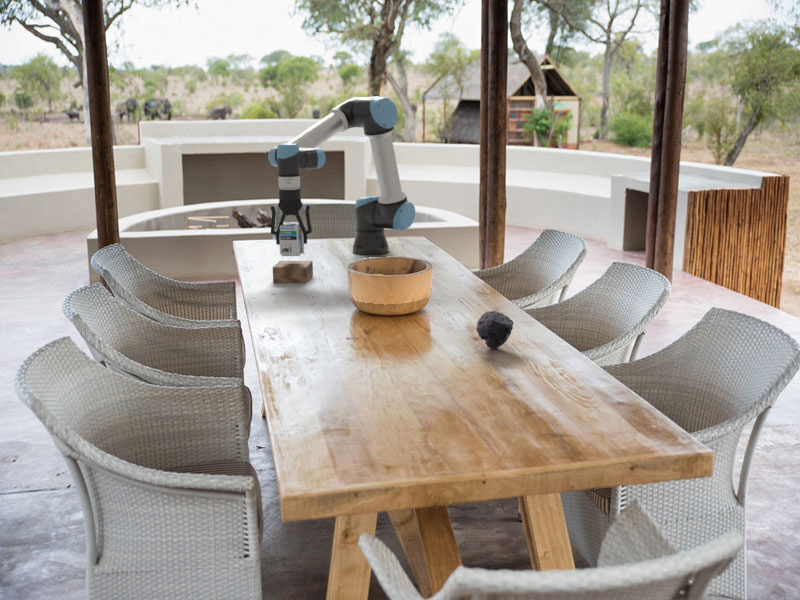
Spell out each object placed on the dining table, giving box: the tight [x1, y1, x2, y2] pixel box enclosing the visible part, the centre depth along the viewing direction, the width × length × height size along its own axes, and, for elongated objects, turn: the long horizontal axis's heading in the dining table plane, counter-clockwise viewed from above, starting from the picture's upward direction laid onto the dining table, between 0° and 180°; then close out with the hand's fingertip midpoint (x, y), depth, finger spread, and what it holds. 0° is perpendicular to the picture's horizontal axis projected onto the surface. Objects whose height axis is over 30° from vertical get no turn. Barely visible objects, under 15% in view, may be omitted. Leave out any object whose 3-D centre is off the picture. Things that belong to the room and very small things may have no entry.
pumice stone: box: [475, 310, 514, 350], centre depth 214 cm, size 10×8×10 cm
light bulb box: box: [280, 221, 303, 257], centre depth 295 cm, size 11×7×11 cm, turn 179°
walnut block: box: [272, 260, 314, 284], centre depth 298 cm, size 12×12×6 cm
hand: (292, 253), depth 296 cm, fingers closed on light bulb box, 7 cm apart
